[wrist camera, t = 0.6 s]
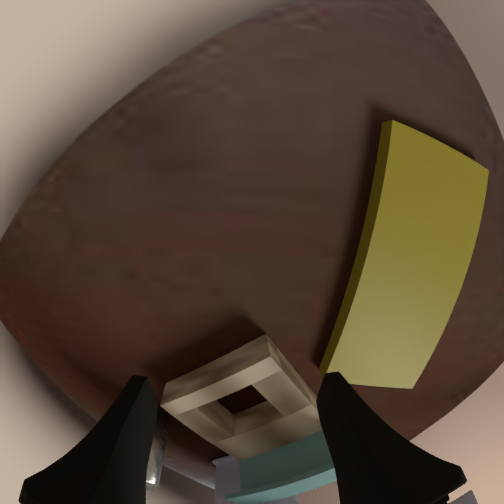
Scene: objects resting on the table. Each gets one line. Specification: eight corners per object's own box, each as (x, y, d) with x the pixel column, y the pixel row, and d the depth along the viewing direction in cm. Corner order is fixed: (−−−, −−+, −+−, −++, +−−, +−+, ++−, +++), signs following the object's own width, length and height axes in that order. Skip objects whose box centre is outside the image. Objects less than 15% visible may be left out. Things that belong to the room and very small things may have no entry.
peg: (153, 429, 25) (139, 491, 17) (128, 410, 24) (108, 473, 15) (177, 422, 25) (167, 489, 16) (152, 401, 23) (133, 471, 15)
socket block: (242, 443, 26) (243, 462, 23) (165, 383, 23) (160, 405, 20) (327, 408, 25) (334, 428, 22) (266, 333, 21) (270, 356, 19)
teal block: (243, 462, 23) (245, 506, 18) (224, 451, 22) (224, 499, 17) (334, 428, 22) (350, 474, 16) (321, 414, 21) (338, 466, 15)
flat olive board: (378, 123, 17) (310, 382, 24) (392, 119, 15) (315, 397, 22) (473, 168, 19) (404, 376, 26) (488, 170, 17) (412, 388, 23)
